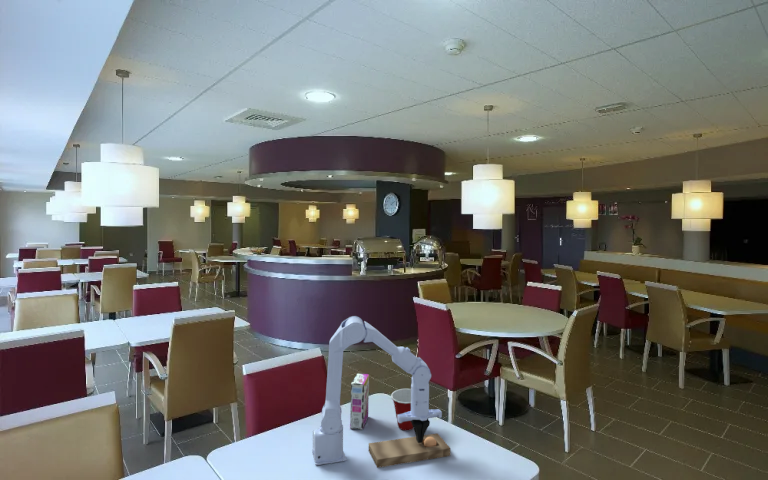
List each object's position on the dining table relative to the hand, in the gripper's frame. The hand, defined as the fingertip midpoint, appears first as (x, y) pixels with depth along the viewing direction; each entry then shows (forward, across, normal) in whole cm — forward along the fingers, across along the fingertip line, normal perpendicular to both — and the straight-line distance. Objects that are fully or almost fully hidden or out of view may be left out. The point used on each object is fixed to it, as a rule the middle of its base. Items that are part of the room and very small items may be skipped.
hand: (419, 441), depth 139 cm
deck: (+3, -4, 0) cm, 5 cm away
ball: (+1, +4, 0) cm, 4 cm away
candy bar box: (+4, -14, +25) cm, 29 cm away
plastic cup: (+4, +2, +17) cm, 17 cm away
